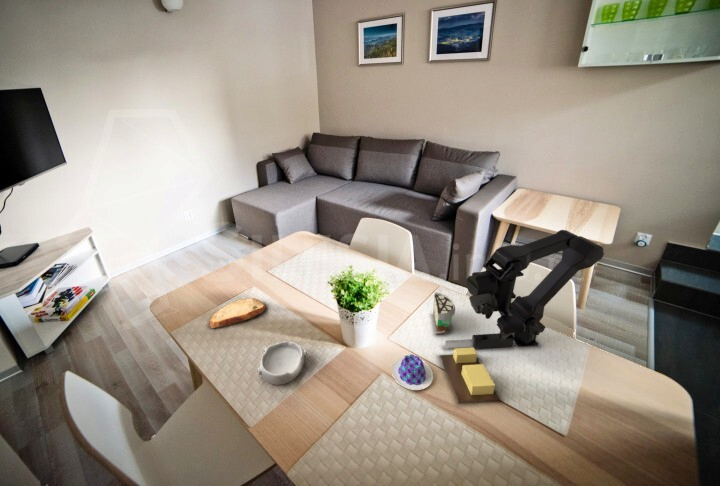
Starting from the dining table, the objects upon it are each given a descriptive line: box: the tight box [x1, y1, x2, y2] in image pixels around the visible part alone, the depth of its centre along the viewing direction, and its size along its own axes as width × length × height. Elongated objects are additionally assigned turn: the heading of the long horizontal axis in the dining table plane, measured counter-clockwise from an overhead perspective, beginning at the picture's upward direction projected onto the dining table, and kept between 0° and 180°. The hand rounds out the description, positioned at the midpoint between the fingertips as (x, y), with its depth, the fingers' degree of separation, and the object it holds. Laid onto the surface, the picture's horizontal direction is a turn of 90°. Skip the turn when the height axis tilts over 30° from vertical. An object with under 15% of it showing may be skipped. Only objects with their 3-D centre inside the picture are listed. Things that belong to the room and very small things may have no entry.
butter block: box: [461, 363, 496, 395], centre depth 92 cm, size 6×7×4 cm
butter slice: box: [452, 347, 478, 363], centre depth 100 cm, size 6×2×4 cm, turn 90°
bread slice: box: [209, 297, 267, 329], centre depth 128 cm, size 18×18×4 cm
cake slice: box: [432, 292, 456, 336], centre depth 113 cm, size 12×6×10 cm, turn 168°
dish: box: [257, 340, 308, 385], centre depth 103 cm, size 14×14×5 cm
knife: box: [444, 332, 515, 351], centre depth 105 cm, size 21×2×4 cm, turn 90°
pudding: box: [391, 354, 434, 391], centre depth 97 cm, size 12×12×5 cm
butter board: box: [439, 354, 500, 404], centre depth 96 cm, size 11×16×1 cm
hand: (494, 328), depth 103 cm, fingers open, 9 cm apart
